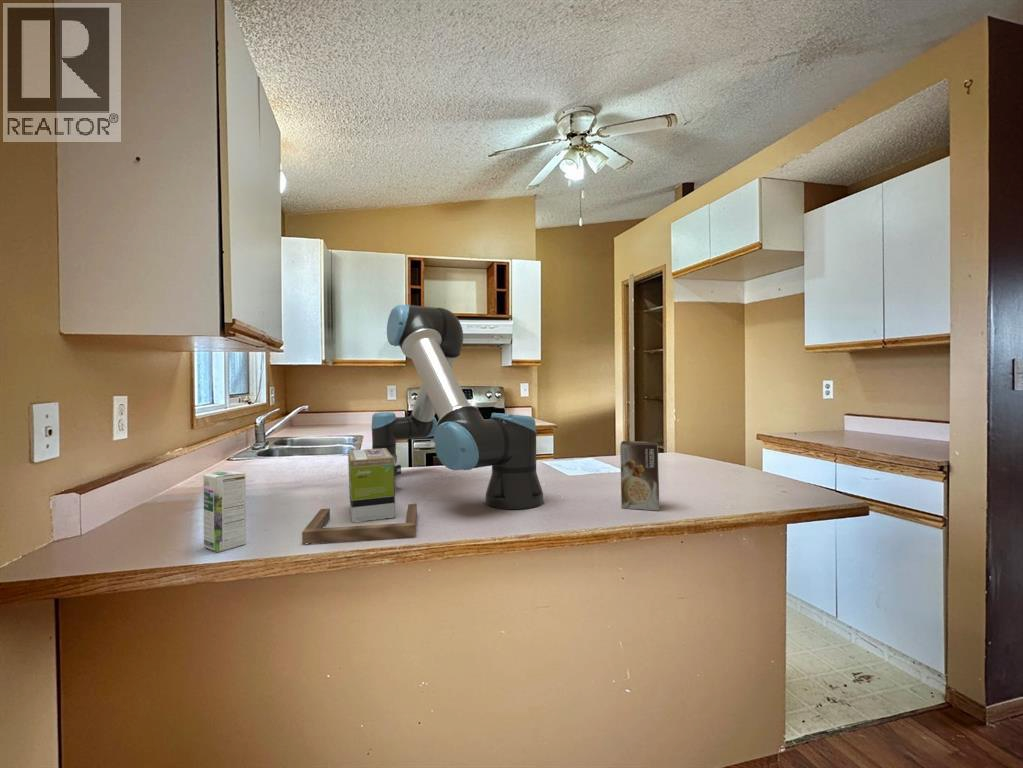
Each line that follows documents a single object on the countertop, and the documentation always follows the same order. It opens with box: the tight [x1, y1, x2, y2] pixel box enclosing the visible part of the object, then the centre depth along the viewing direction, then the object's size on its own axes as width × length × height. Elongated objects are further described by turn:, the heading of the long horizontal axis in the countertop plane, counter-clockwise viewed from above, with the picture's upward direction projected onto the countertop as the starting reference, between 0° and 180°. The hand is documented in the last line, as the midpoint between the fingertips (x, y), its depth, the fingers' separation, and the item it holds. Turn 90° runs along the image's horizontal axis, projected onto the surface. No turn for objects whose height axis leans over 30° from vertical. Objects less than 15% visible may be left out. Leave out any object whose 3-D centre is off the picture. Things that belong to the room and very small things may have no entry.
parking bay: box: [301, 503, 418, 545], centre depth 108 cm, size 22×18×2 cm
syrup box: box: [203, 470, 247, 553], centre depth 98 cm, size 6×6×14 cm
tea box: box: [347, 448, 396, 523], centre depth 120 cm, size 15×10×15 cm, turn 21°
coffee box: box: [619, 440, 661, 512], centre depth 123 cm, size 9×6×16 cm
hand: (372, 481), depth 128 cm, fingers closed
